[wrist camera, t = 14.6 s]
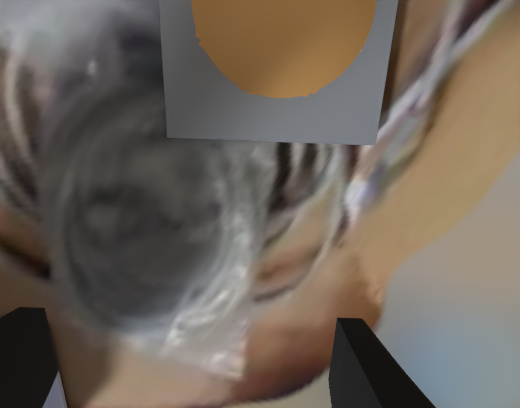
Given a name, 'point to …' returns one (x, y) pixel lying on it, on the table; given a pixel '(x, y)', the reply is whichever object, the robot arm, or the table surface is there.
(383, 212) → the table surface
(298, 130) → the stud block
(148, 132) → the table surface
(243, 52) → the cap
